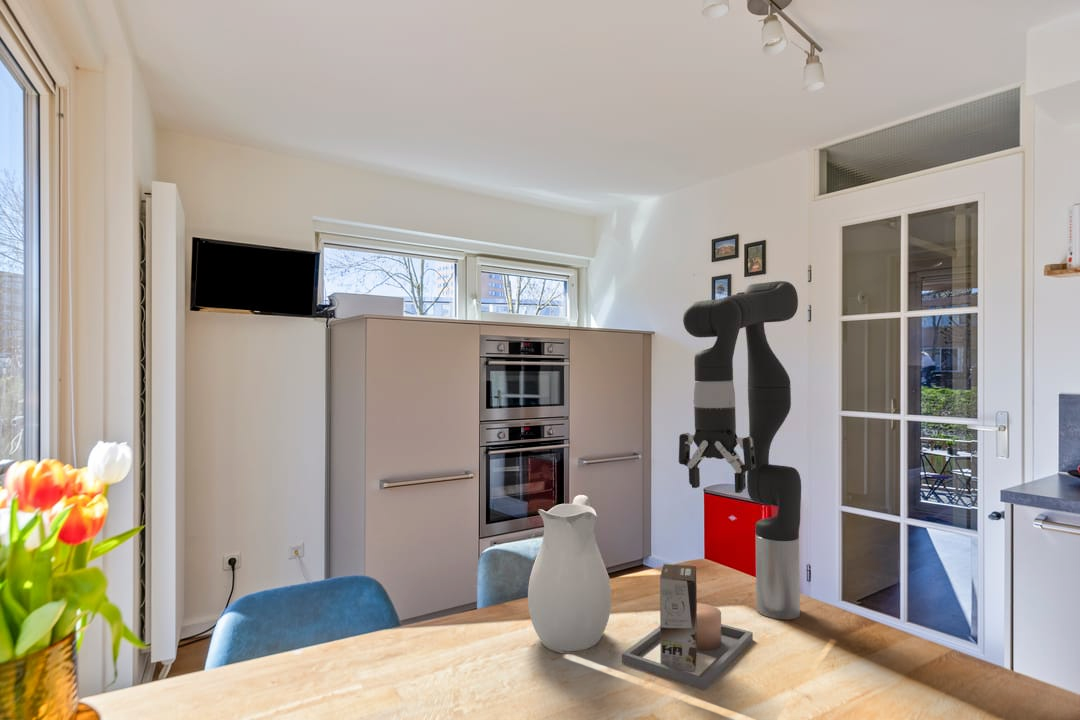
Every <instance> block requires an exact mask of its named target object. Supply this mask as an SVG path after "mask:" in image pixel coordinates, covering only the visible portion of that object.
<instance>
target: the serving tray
mask: <svg viewBox="0 0 1080 720" xmlns="http://www.w3.org/2000/svg"><path fill="white" fill-rule="evenodd" d="M753 633H754V632H752V631H750V630H745V629H741V628H738V627H734V626H731V625H726V624H722V623H721V646H720V647H719V648H717V649H714V650H697V656H696V669H695V671H694V672H691V671H685V670H679V669H676V668H673V667H670V666H667V665H664V664H661V663H660V654H661V652H660V626H658V627H657V628H655V629H654V630H652V631H651V632H649V633H648V634H647V635H645V637H643V638H642V639H640V640H639V641H637V642H636V643H635V644H633V645H632V646H630V647H629V648H628V649H626V650H625V651H623V652H622V653H621V663H622V664H626V665H629V666H632V667H635V668H638V669H641V670H643V671H646V672H650V673H653V674H655V675H658V676H662V677H663V678H667V679H670V680H673V681H676V682H679V683H682V684H684V685H688V686H690V687H693V688H696V689H700V690H702V691H706V690H707V689H708V688H709V686H710V685H712V683H713V682H714V681H716V679H717V678H718V677H720V675H721V674H722V673H723V672H724V671H725V670H726V669H727V668H728V667H729V666H730V665H731V664H732V663H733V662H734V660H735V659H737V657H739V655H740V654H741V653H742V652H743V651H744V650H745V649H746V647H748V646H749V644H750V643H751V642H753V640H754V636H753Z"/></svg>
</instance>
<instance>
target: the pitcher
mask: <svg viewBox="0 0 1080 720" xmlns="http://www.w3.org/2000/svg"><path fill="white" fill-rule="evenodd" d="M590 503H591V502H590V498H589V497H588V496H587V495H583V494H578V495H576V496H574V498H573V500H572V503H561V504H557V505H554V506H553V507H552V508H550V509H549V510H547V511H545V510H544V509H541V508H540V509H538V510H537V512H538V514H539V515H540V517H541V519H542V522H543V527H544V531H543V536H542V541H541V543H540V546H539V549H538V552H537V554H536V558H535V561H534V563H533V566H532V569H531V571H530V572H531V573H530V577H529V582H528V587H527V588H528V590H527V606H528V612H529V618H530V621H531V624H532V626H533V629H534V631H535V633H536V635H537V636H538V639H539V640H540V642H541V643H542V644H543V646H544V647H545V648H547V649H548V650H550V651H552V652H555V653H559V654H564V655H565V654H567V655H569V654H572V653H571V652H575V651H583V650H587V649H590V648H592V647H594V646H596V645H597V644H598V642H599V641H600V639H601V638H602V636H603V634H604V632H605V630H606V628H607V625H608V622H609V619H610V615H611V609H612V607H611V606H612V591H611V590H612V589H611V583H610V578H609V575H608V571H607V568H606V565H605V562H604V559H603V557H602V554H601V551H600V549H599V546H598V544H597V541H596V535H595V524H596V521H597V519H598V515H597V513H596V510H595V509H594V508H593V507H591V506H590V505H591V504H590Z"/></svg>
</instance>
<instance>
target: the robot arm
mask: <svg viewBox="0 0 1080 720" xmlns="http://www.w3.org/2000/svg"><path fill="white" fill-rule="evenodd" d="M798 296H799V295H798V293H797V289H796V287H795V286H794V284H793V283H790V282H789V281H782V280H776V281H770V282H760V283H759V282H758V283H752V284H749V285H747V287H746V288H745V290H744V293H738V294H733V295H728V296H724V297H722V298H718V299H708V300H700V301H694V302H692V303H690V304H689V305H688V306H687V308H685V310H684V313H683V317H682V322H683V326H684V328H685V330H686V332H687V333H688V334H689V335H691V336H692V337H695V338H715V337H716V340H715V343H714V345H713V346H712V347H710V348H706V349H703V350H699V351H698V352H696V353H695V355H694V361H693V362H694V389H693V406H694V407H693V410H694V415H693V416H694V431H695V433H694V434H691V433H689V432H684V433H682V434H680V435H678V436H679V440H678V441H679V442H678V443H679V444H678V463H679V464H680V465H684V466H686V467H687V468H688V483H689V485H691V487H692V489H697V488H700V486H701V484H700V483H701V481H700V480H701V479H700V477H701V476H700V467H699V465H700V464H701V462H702V461H703V459H705V458H706V459H712V458H714V459H718V460H723V459H725V460H726V462H727V463H728V464H729V465H730V466H731V467H732V469H733V470H734V471H735V472H734V492H735V494H741V493H743V492H744V490H745V489H747V493H748V496H749V498H750V500H751V501H752V502H754V503H757V504H760V505H767V506H773V507H777V512H776V515H774V516H773V517H767V518H761V519H759V520H758V521H756V523H755V529H754V531H755V533H754V534H755V585H756V586H755V590H756V591H755V598H756V602H755V603H756V610H757V611H756V612H758V613H759V614H761V615H762V616H765V617H768V618H771V619H777V620H795V619H797V618H799V617H800V615H801V599H800V598H801V596H800V595H801V594H800V593H801V592H800V591H801V590H800V585H801V584H800V581H801V580H800V535H799V533H800V527H801V526H800V525H801V504H802V503H801V502H802V480H801V476H800V473H799V471H798V470H797V468H795V467H792V466H787V465H780V464H779V465H777V464H771V463H770V461H769V458H770V457H769V456H770V450H771V444H772V442H773V440H774V438H775V436H776V434H777V433H778V431H779V430H780V428H782V425H783V424H784V422H785V420H786V419H787V417H788V415H789V413H790V410H791V407H792V406H791V405H792V401H791V400H792V395H791V390H792V389H791V379H790V376H789V374H788V372H787V370H786V368H785V367H784V365H783V364H782V363H781V361H780V360H779V359H778V357H777V356H776V354H775V353H774V351H773V350H772V348H771V346H770V344H769V342H768V340H767V336H766V332H765V330H766V329H765V323H774V322H775V323H779V322H785V321H789V320H791V319H792V318H794V316H795V315H796V313H797V311H798V306H799V299H798V298H799V297H798ZM743 328H744V329H745V337H746V346H747V347H746V349H747V350H746V351H747V404H748V423H749V424H748V430H749V431H748V432H749V435H748V436H747V437H738V435H737V432H736V430H737V428H736V427H737V421H736V420H737V418H736V416H737V415H736V393H735V386H734V363H733V362H734V361H733V360H734V354H735V349H736V344H737V340H738V335H739V333H740V330H741V329H743ZM693 442H694V444H695V445H696V447H697V449H696V450H695V451H694V454H692V456H691V445H692V444H693ZM738 445H739V447H740V449H742V452H743V460H742V459H741V456H740V455H739V453H738V452H737V451H736V449H735V448H736V447H737V446H738Z"/></svg>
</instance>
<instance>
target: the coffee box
mask: <svg viewBox="0 0 1080 720" xmlns="http://www.w3.org/2000/svg"><path fill="white" fill-rule="evenodd" d="M659 579H660V584H659V585H660V586H659V587H660V588H659V590H660V591H659V593H660V595H659V598H660V599H659V602H660V603H659V606H660V607H659V608H660V609H659V611H660V612H659V614H660V615H659V617H660V618H659V619H660V620H659V621H660V652H661V654H660V663H661V664H664V665H667V666H670V667H673V668H676V669H679V670H685V671H691V672H694V671H695V669H696V656H697V603H698V602H697V601H698V600H697V597H698V596H697V595H698V594H697V593H698V592H697V587H698V586H697V565H687V564H685V565H684V564H668V563H664V564H663V566H662V569H661V572H660V577H659Z"/></svg>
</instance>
